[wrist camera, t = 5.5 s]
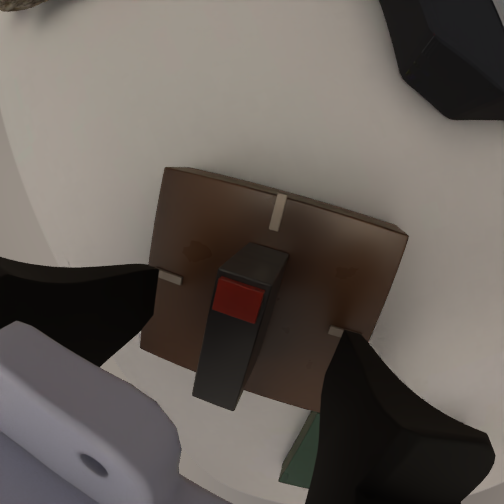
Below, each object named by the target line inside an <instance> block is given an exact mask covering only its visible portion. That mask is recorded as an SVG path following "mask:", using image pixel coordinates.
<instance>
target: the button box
mask: <svg viewBox="0 0 504 504" xmlns="http://www.w3.org/2000/svg"><path fill="white" fill-rule="evenodd" d="M319 425H320V413H319V412H315V411H311V413H310V415H309V417H308V419H307V420H306V422H305V424H304V426H303V428H302V430H301V432H300V434H299V436H298V437H297V439H296V441H295V443H294V445H293V447H292V448H291V450H290V452H289V454H288V456H287V457H286V459H285V461H284V463H283V465H282V469H281V473H280V477H279V482H282V483H286V484H290V485H294V486H298V487H303V488H307V489H309V487H310V483H311V479H312V475H313V471H314V466H315V461H316V456H317V451H318V442H319Z"/></svg>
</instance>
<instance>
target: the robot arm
mask: <svg viewBox="0 0 504 504" xmlns="http://www.w3.org/2000/svg"><path fill="white" fill-rule="evenodd" d="M158 276H159V269H158V268H155V267H152V266H149V265H147V264H125V265H113V266H100V267H81V268H67V267H49V266H41V265H34V264H28V263H23V262H18V261H13V260H9V259H6V258H2V257H0V504H232V503H230V502H228V501H226V500H225V499H223V498H221V497H219V496H217V495H215V494H213V493H211V492H210V491H208V490H206V489H204V488H202V487H201V486H199V485H197V484H196V483H194V482H192V481H190V480H189V479H187V478H185V477H184V476H182V475H181V474H179V461H180V455H181V445H180V441H179V436H178V432H177V428H176V426H175V425H174V423H173V422H172V421H171V420H170V419H169V417H168V416H167V415H166V414H165V412H164V411H163V410H162V409H161V407H160V406H159V405H158V403H157V402H156V401H154V400H153V399H152V398H150V397H149V396H147V395H146V394H144V393H143V392H141V391H140V390H139V389H137V388H136V387H134V386H133V385H132V384H130V383H128V382H126V381H124V380H122V379H120V378H118V377H116V376H114V375H113V374H111V373H109V372H107V371H105V370H103V369H101V368H100V366H101V365H102V364H103V363H104V362H106V361H107V360H108V359H109V358H110V357H111V356H112V355H114V354H115V353H116V352H117V351H118V350H119V349H121V348H122V347H123V346H124V345H125V344H126V343H128V342H129V341H130V340H131V339H132V338H133V337H134V336H135V335H137V334H138V333H139V332H140V331H141V330H142V328H143V327H144V326H145V325H146V324H147V323H148V321H149V320H150V319H151V317H152V316H153V315H154V306H155V298H156V291H157V283H158ZM494 461H495V453H494V450H493V447H492V445H491V442H490V440H489V437H488V435H487V434H486V433H484V432H482V431H479V430H477V429H475V428H472V427H470V426H467V425H465V424H463V423H461V422H458V421H457V420H455V419H453V418H451V417H449V416H447V415H446V414H444V413H442V412H441V411H439V410H437V409H436V408H434V407H433V406H431V405H430V404H429V403H427V402H426V401H424V400H423V399H422V398H420V397H419V396H418V395H416V394H415V393H414V392H413V391H412V390H411V389H409V388H408V387H407V386H406V385H405V384H404V383H403V382H402V381H401V380H400V379H399V378H398V377H397V376H396V375H395V374H394V373H393V372H392V371H391V370H390V369H389V368H388V366H387V365H386V364H385V363H384V362H383V361H382V359H381V358H380V357H379V356H378V354H377V353H376V352H375V351H374V349H373V348H372V347H371V346H370V344H369V343H368V342H367V341H366V340H365V338H364V337H363V336H362V335H361V334H359V333H355V332H352V331H348V330H345V329H344V331H343V334H342V336H341V339H340V341H339V343H338V346H337V348H336V350H335V353H334V355H333V357H332V360H331V362H330V364H329V366H328V369H327V371H326V373H325V377H324V382H323V387H322V393H321V405H320V425H319V442H318V451H317V456H316V461H315V466H314V471H313V475H312V479H311V483H310V487H309V491H308V495H307V499H306V502H305V504H461V501H462V500H463V499H464V498H465V497H466V496H468V495H469V494H470V493H471V492H472V491H473V490H474V489H475V488H476V487H477V486H478V485H479V484H480V483H481V482H482V481H483V480H484V478H485V477H486V476H487V475H488V474H489V472H490V470H491V468H492V466H493V464H494Z"/></svg>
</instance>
